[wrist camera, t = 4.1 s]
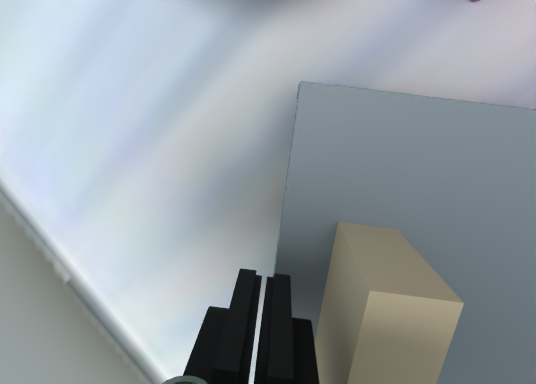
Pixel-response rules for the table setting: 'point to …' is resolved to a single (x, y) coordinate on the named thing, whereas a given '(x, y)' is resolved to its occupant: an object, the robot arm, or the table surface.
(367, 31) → the table surface
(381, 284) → the lid
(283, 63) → the table surface
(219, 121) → the table surface
